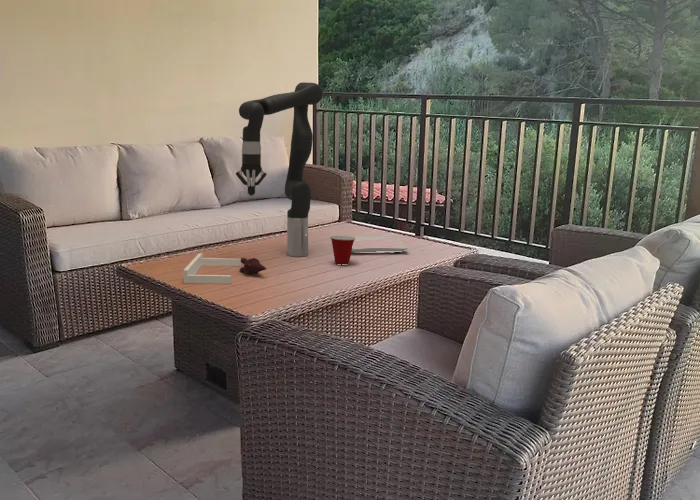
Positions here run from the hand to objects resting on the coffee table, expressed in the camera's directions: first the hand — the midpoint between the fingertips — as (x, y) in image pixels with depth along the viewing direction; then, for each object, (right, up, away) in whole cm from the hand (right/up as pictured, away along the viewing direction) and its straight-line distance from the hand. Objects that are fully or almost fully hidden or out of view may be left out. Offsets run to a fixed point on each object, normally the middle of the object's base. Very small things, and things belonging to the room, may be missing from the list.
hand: (251, 195), depth 259 cm
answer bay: (-12, -32, -9) cm, 35 cm away
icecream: (+2, -32, -9) cm, 34 cm away
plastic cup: (+37, -28, +11) cm, 48 cm away
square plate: (+51, -22, +41) cm, 69 cm away
